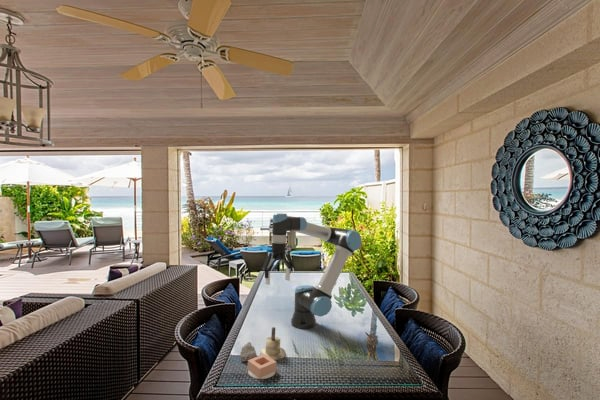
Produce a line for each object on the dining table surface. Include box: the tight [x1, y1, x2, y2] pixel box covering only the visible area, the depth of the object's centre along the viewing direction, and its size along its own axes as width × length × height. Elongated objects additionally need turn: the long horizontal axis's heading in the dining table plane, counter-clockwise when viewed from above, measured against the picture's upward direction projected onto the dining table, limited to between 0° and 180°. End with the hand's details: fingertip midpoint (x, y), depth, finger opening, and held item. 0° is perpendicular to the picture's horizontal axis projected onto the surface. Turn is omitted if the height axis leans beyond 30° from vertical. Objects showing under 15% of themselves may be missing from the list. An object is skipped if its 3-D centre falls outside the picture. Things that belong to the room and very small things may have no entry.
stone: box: [239, 341, 258, 363], centre depth 152 cm, size 8×10×6 cm
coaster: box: [247, 369, 277, 380], centre depth 140 cm, size 12×12×1 cm
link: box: [247, 354, 278, 378], centre depth 140 cm, size 9×9×4 cm
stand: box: [259, 326, 286, 362], centre depth 156 cm, size 12×12×13 cm
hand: (277, 282), depth 170 cm, fingers open, 13 cm apart
